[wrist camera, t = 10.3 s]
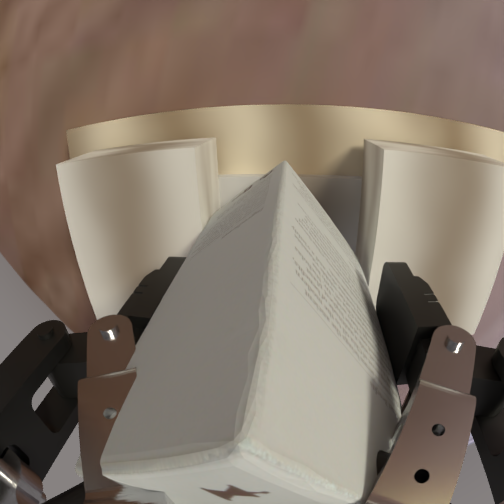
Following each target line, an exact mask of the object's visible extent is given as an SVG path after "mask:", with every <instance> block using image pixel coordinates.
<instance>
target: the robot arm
mask: <svg viewBox="0 0 504 504" xmlns="http://www.w3.org/2000/svg"><path fill="white" fill-rule="evenodd" d="M186 258H187V257H168V258H167V260H166V261H165V262H164V264H163V265H162V267H161V268H160V269H155V270H154V271H152V272H151V273H149V274H148V275H146V276H145V277H144V278H143V279H142V281H141V282H140V283H139V286H137V287H136V289H135V290H134V291H133V293H132V294H131V295H130V297H129V298H128V300H127V301H126V302H125V304H124V305H123V306H122V308H121V309H120V311H119V312H118V313H117V315H108V316H105V317H102V318H100V319H98V320H97V321H95V322H94V323H93V324H92V325H91V326H90V328H89V329H88V332H84V333H73V334H68V332H67V329H66V327H65V325H64V324H63V323H62V322H61V321H57V320H51V321H46V322H43V323H41V324H39V325H38V326H36V327H35V328H34V329H33V330H32V331H31V332H30V333H29V334H28V335H27V336H26V337H25V338H24V339H23V340H22V341H21V342H20V344H19V345H18V346H17V347H16V348H15V349H14V350H13V351H12V352H11V353H10V354H9V356H8V357H7V358H6V359H5V360H4V361H3V362H2V363H1V364H0V504H175V503H174V502H173V501H172V500H171V499H170V498H169V497H168V496H167V494H166V493H165V492H161V491H153V490H147V489H142V488H138V487H134V486H131V485H127V484H124V483H121V482H117V481H114V480H112V479H109V478H107V477H105V476H103V475H102V468H101V465H100V460H101V456H102V453H103V450H104V448H105V445H106V443H107V440H108V438H109V435H110V433H111V430H112V428H113V426H114V423H115V421H116V419H117V417H118V414H119V412H120V410H121V408H122V406H123V404H124V402H125V400H126V397H127V395H128V393H129V391H130V389H131V387H132V385H133V383H134V381H135V379H136V377H137V368H136V367H135V368H130V369H126V367H127V365H128V364H129V362H130V360H131V358H132V356H133V354H134V352H135V350H136V344H137V342H138V341H139V339H140V337H141V335H142V333H143V332H144V330H145V328H146V327H147V325H148V323H149V321H150V319H151V318H152V316H153V314H154V312H155V310H156V309H157V307H158V306H159V304H160V302H161V300H162V298H163V296H164V295H165V293H166V291H167V290H168V288H169V286H170V285H171V283H172V281H173V279H174V278H175V276H176V274H177V273H178V271H179V269H180V268H181V266H182V264H183V263H184V261H185V259H186ZM376 313H377V317H378V320H379V323H380V326H381V330H382V333H383V336H384V340H385V343H386V347H387V350H388V354H389V358H390V361H391V365H392V369H393V373H394V377H395V381H396V385H402V384H408V386H409V391H408V393H407V395H406V398H405V400H404V403H403V405H402V409H401V418H400V419H399V421H398V423H397V425H396V427H395V430H394V433H393V436H392V439H391V440H392V442H393V445H392V447H391V450H390V452H389V453H388V452H385V451H383V450H379V451H378V454H377V459H376V466H377V477H376V479H375V481H374V484H373V486H372V488H371V490H370V493H369V495H368V497H367V499H366V501H365V503H364V504H451V503H450V501H451V498H452V495H453V492H454V489H455V487H456V484H457V481H458V477H459V474H460V471H461V467H462V464H463V460H464V457H465V453H466V449H467V445H468V441H469V437H470V432H471V434H472V436H473V439H474V442H475V444H476V446H477V450H478V452H479V455H480V458H481V461H482V464H483V466H484V469H485V472H486V475H487V478H488V481H489V485H490V488H491V491H492V494H493V498H494V501H495V504H504V338H502V339H501V340H500V342H499V344H498V346H497V348H496V349H494V348H488V347H482V346H477V345H476V342H475V340H474V338H473V337H472V335H471V334H470V333H469V332H467V331H466V330H464V329H462V328H460V327H458V326H454V325H452V324H451V322H450V320H449V319H448V317H447V315H446V313H445V311H444V310H443V308H442V306H441V304H440V303H439V302H438V299H437V298H436V296H435V295H434V292H433V291H432V289H431V287H430V286H429V284H428V283H427V282H425V281H424V280H423V279H422V278H420V277H419V276H414V275H413V274H412V272H411V270H410V268H409V267H408V265H407V263H405V262H385V263H384V265H383V269H382V274H381V280H380V285H379V290H378V295H377V300H376ZM125 369H126V370H125ZM47 377H48V378H49V379H50V381H51V382H52V384H53V385H54V386H53V387H52V389H51V390H50V391H49V393H48V394H47V395H46V397H45V398H44V400H43V401H42V402H41V404H40V405H39V406H38V408H37V409H36V411H34V410H33V408H32V397H33V395H34V393H35V392H36V391H37V389H38V388H39V387H40V385H41V384H42V383H43V382H44V381H45V379H46V378H47ZM115 412H117V414H116V416H115V417H114V418H112V419H109V417H110V416H111V415H112V414H113V413H115ZM78 422H79V439H80V452H81V462H82V471H83V479H84V482H82V483H80V484H79V485H76V486H75V487H73V488H71V489H69V490H67V491H65V492H64V493H61V494H60V495H57V496H55V497H54V498H52V499H50V500H48V501H46V495H45V494H44V493H43V485H42V481H43V479H44V478H45V476H46V474H47V473H48V471H49V469H50V467H51V466H52V464H53V462H54V461H55V459H56V457H57V456H58V454H59V452H60V450H61V449H62V448H63V446H64V444H65V443H66V441H67V439H68V438H69V436H70V435H71V433H72V431H73V429H74V428H75V426H76V425H77V423H78Z"/></svg>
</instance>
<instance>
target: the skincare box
mask: <svg viewBox="0 0 504 504" xmlns="http://www.w3.org/2000/svg"><path fill="white" fill-rule="evenodd" d="M135 367H136V368H137V377H136V379H135V381H134V383H133V385H132V387H131V389H130V391H129V393H128V395H127V397H126V400H125V402H124V404H123V406H122V408H121V410H120V412H119V414H118V417H117V419H116V421H115V423H114V426H113V428H112V430H111V433H110V435H109V438H108V440H107V443H106V445H105V448H104V450H103V453H102V456H101V460H100V465H101V468H102V475H103V476H105V477H107V478H109V479H112V480H114V481H117V482H121V483H124V484H127V485H131V486H134V487H138V488H142V489H147V490H153V491H161V492H165V493H166V494H167V496H168V497H169V498H170V499H171V500H172V501H173V502H174V503H175V504H364V503H365V501H366V499H367V497H368V495H369V493H370V490H371V488H372V486H373V484H374V481H375V479H376V477H377V466H376V459H377V454H378V451H379V450H383V451H385V452H388V453H389V452H390V450H391V447H392V445H393V442H392V440H391V439H392V436H393V433H394V430H395V427H396V425H397V423H398V421H399V419H400V418H401V409H402V406H401V401H400V397H399V393H398V389H397V385H396V381H395V377H394V373H393V369H392V365H391V361H390V358H389V354H388V350H387V347H386V343H385V340H384V336H383V333H382V330H381V326H380V323H379V320H378V317H377V313H376V310H375V307H374V304H373V301H372V297H371V294H370V291H369V288H368V285H367V282H366V279H365V276H364V273H363V270H362V267H361V264H360V261H359V259H358V257H357V256H356V254H355V253H354V252H353V250H352V249H351V247H350V246H349V244H348V243H347V241H346V240H345V238H344V237H343V236H342V234H341V233H340V231H339V230H338V229H337V227H336V226H335V224H334V223H333V222H332V220H331V219H330V217H329V216H328V215H327V213H326V212H325V211H324V209H323V208H322V206H321V205H320V204H319V202H318V201H317V200H316V198H315V197H314V196H313V194H312V193H311V192H310V191H309V189H308V188H307V187H306V185H305V184H304V183H303V181H302V180H301V179H300V177H299V176H298V175H297V174H296V172H295V171H294V170H293V169H292V167H291V166H290V165H289V163H288V162H287V161H282V162H281V163H280V164H278V165H277V166H276V167H274V168H273V169H272V170H270V171H269V172H268V173H266V174H265V175H264V176H262V177H261V178H259V179H258V180H257V181H255V182H254V183H253V184H251V185H250V186H249V187H248V188H246V189H245V190H244V191H243V192H241V193H240V194H239V195H238V196H236V197H235V198H234V199H232V200H231V201H230V202H229V203H227V204H226V205H225V206H224V207H222V208H221V209H220V210H218V211H217V212H216V213H214V214H213V216H212V217H211V219H210V220H209V222H208V224H207V225H206V227H205V229H204V230H203V232H202V233H201V235H200V236H199V238H198V239H197V241H196V243H195V244H194V246H193V248H192V249H191V251H190V253H189V254H188V256H187V258H186V259H185V261H184V263H183V264H182V266H181V268H180V269H179V271H178V273H177V274H176V276H175V278H174V279H173V281H172V283H171V285H170V286H169V288H168V290H167V291H166V293H165V295H164V296H163V298H162V300H161V302H160V304H159V306H158V307H157V309H156V310H155V312H154V314H153V316H152V318H151V319H150V321H149V323H148V325H147V327H146V328H145V330H144V332H143V333H142V335H141V337H140V339H139V341H138V342H137V344H136V350H135V352H134V354H133V356H132V358H131V360H130V362H129V364H128V365H127V367H126V369H130V368H135ZM126 369H125V370H126ZM116 414H117V412H115V413H113V414H112V415H111V416H110V417H109V419H112V418H114V417H115V416H116ZM75 471H76V473H77V474H78V475H79V476H80V477H82V478H83V471H82V462H81V454H80V457H79V459H78V461H77V464H76V468H75Z"/></svg>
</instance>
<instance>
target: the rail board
mask: <svg viewBox="0 0 504 504" xmlns="http://www.w3.org/2000/svg"><path fill="white" fill-rule="evenodd" d="M66 132H67V141H68V148H69V156H70V159H69V160H67V161H64V162H62V163H59V164H56V168H57V174H58V180H59V185H60V190H61V195H62V200H63V205H64V210H65V214H66V218H67V223H68V227H69V231H70V235H71V239H72V242H73V246H74V250H75V253H76V257H77V260H78V264H79V267H80V271H81V274H82V277H83V280H84V283H85V287H86V290H87V293H88V296H89V299H90V301H91V304H92V307H93V310H94V313H95V315H96V318H97V320H98V319H100V318H102V317H105V316H108V315H117V313H118V312H119V311H120V309H121V308H122V306H123V305H124V304H125V302H126V301H127V300H128V298H129V297H130V295H131V294H132V293H133V291H134V290H135V289H136V287H137V286H139V283H140V282H141V281H142V279H143V278H144V277H145V276H146V275H148V274H149V273H151V272H152V271H154V270H155V269H160V268H161V267H162V265H163V264H164V262H165V261H166V260H167V258H168V257H187V256H188V254H189V253H190V251H191V249H192V248H193V246H194V244H195V243H196V241H197V239H198V238H199V236H200V235H201V233H202V232H203V230H204V229H205V227H206V225H207V224H208V222H209V220H210V219H211V217H212V216H213V214H214V213H216V212H217V211H218V210H220V209H221V208H222V207H224V206H225V205H226V204H227V203H229V202H230V201H231V200H232V199H234V198H235V197H236V196H238V195H239V194H240V193H241V192H243V191H244V190H245V189H246V188H248V187H249V186H250V185H251V184H253V183H254V182H255V181H257V180H258V179H259V178H261V177H262V176H264V175H265V174H266V173H268V172H269V171H270V170H272V169H273V168H274V167H276V166H277V165H278V164H280V163H281V162H282V161H287V162H288V163H289V165H290V166H291V167H292V169H293V170H294V171H295V172H296V174H297V175H298V176H299V177H300V179H301V180H302V181H303V183H304V184H305V185H306V187H307V188H308V189H309V191H310V192H311V193H312V194H313V196H314V197H315V198H316V200H317V201H318V202H319V204H320V205H321V206H322V208H323V209H324V211H325V212H326V213H327V215H328V216H329V217H330V219H331V220H332V222H333V223H334V224H335V226H336V227H337V229H338V230H339V231H340V233H341V234H342V236H343V237H344V238H345V240H346V241H347V243H348V244H349V246H350V247H351V249H352V250H353V252H354V253H355V254H356V256H357V257H358V259H359V261H360V264H361V267H362V270H363V273H364V276H365V279H366V282H367V285H368V288H369V291H370V294H371V297H372V301H373V304H374V307H375V310H376V300H377V295H378V290H379V285H380V280H381V274H382V269H383V265H384V263H385V262H405V263H407V265H408V267H409V268H410V270H411V272H412V274H413V275H414V276H419V277H420V278H422V279H423V280H424V281H425V282H427V283H428V284H429V286H430V287H431V289H432V291H433V292H434V295H435V296H436V298H437V299H438V302H439V303H440V304H441V306H442V308H443V310H444V311H445V313H446V315H447V317H448V319H449V320H450V322H451V324H452V325H454V326H458V327H460V328H462V329H464V330H466V331H467V332H469V333H470V334H474V333H475V330H476V328H477V326H478V323H479V321H480V319H481V316H482V314H483V311H484V309H485V306H486V304H487V301H488V298H489V295H490V293H491V290H492V287H493V284H494V281H495V278H496V275H497V272H498V269H499V266H500V263H501V259H502V256H503V252H504V132H501V131H498V130H494V129H490V128H486V127H481V126H477V125H473V124H468V123H464V122H459V121H454V120H449V119H443V118H438V117H432V116H426V115H420V114H413V113H406V112H398V111H390V110H381V109H371V108H359V107H346V106H328V105H287V104H282V105H241V106H223V107H209V108H198V109H187V110H178V111H170V112H162V113H154V114H148V115H141V116H135V117H129V118H123V119H117V120H112V121H107V122H102V123H97V124H92V125H87V126H83V127H79V128H74V129H70V130H66Z"/></svg>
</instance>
